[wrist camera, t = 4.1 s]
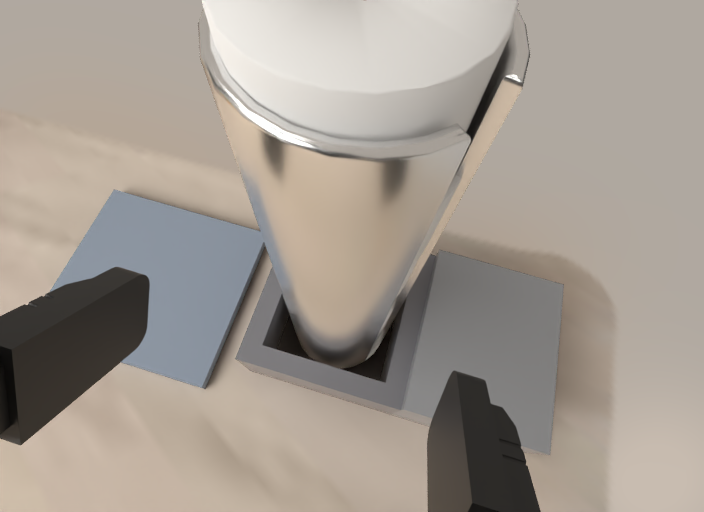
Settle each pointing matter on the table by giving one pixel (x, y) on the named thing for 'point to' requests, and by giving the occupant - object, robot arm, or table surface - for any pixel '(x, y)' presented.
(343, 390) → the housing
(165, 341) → the rubber mat
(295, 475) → the table surface
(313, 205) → the chrome and white cylinder
